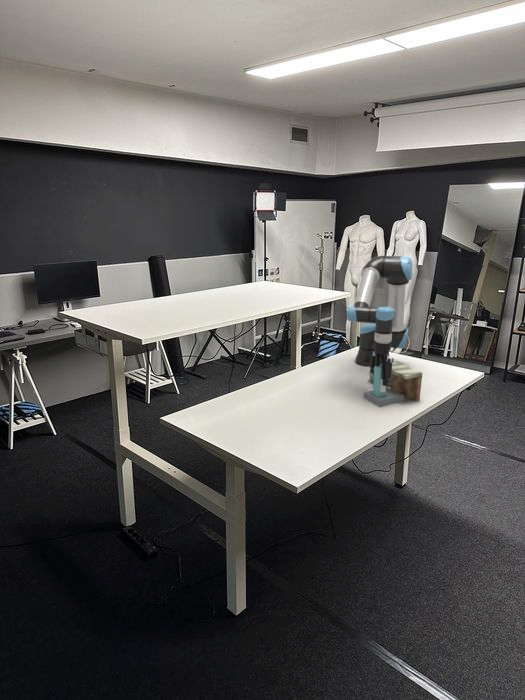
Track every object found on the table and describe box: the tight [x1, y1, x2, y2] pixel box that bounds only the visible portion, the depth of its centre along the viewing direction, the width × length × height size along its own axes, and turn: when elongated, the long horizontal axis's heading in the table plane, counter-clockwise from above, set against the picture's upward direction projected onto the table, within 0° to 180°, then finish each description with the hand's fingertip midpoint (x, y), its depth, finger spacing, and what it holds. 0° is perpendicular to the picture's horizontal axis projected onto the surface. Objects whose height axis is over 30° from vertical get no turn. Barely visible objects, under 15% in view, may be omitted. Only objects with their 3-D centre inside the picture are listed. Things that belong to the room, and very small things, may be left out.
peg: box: [372, 365, 385, 397], centre depth 218 cm, size 4×4×14 cm
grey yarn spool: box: [368, 369, 391, 386], centre depth 243 cm, size 14×10×10 cm
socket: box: [363, 386, 405, 408], centre depth 222 cm, size 12×14×3 cm
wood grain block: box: [389, 361, 423, 402], centre depth 225 cm, size 18×10×14 cm, turn 27°
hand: (379, 389), depth 220 cm, fingers closed on peg, 4 cm apart
